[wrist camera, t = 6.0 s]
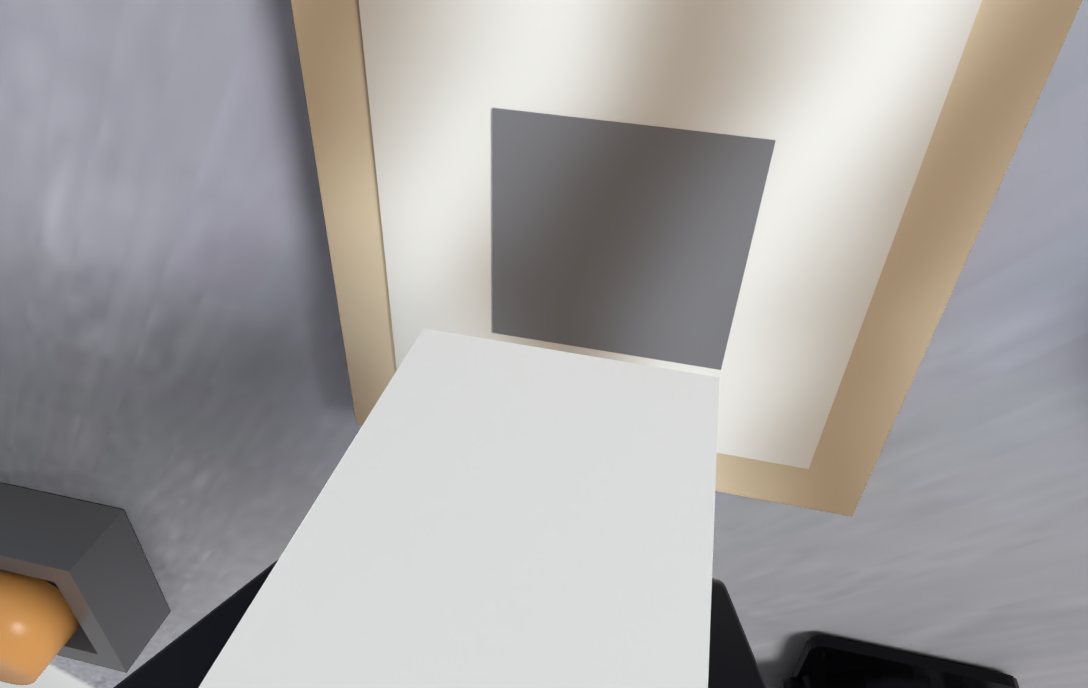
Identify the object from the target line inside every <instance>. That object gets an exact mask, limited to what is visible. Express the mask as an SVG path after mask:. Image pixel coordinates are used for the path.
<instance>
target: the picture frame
mask: <svg viewBox="0 0 1088 688" xmlns="http://www.w3.org/2000/svg"><path fill="white" fill-rule="evenodd" d="M1081 2H1082V0H291V5H292V11H293V18H294V24H295V31H296V37H297V43H298V50H299V56H300V63H301V69H302V76H303V82H304V89H305V95H306V102H307V108H308V115H309V121H310V127H311V134H312V140H313V147H314V153H315V160H316V166H317V173H318V179H319V186H320V192H321V199H322V205H323V211H324V218H325V224H326V231H327V237H328V244H329V250H330V257H331V263H332V270H333V276H334V283H335V289H336V295H337V302H338V308H339V315H340V321H341V328H342V334H343V341H344V347H345V354H346V360H347V367H348V373H349V379H350V386H351V392H352V399H353V405H354V412H355V418H356V424H361V425H363V424H364V422H365V421H366V419H367V417H368V416H369V414H370V413H371V411H372V409H373V408H374V406H375V405H376V403H377V401H378V400H379V398H380V397H381V395H382V393H383V392H384V390H385V389H386V387H387V385H388V384H389V382H390V381H391V379H392V377H393V376H394V374H395V373H396V371H397V369H398V368H399V366H400V365H401V363H402V361H403V360H404V358H405V357H406V355H407V353H408V352H409V350H410V349H411V347H412V345H413V344H414V342H415V341H416V339H417V337H418V336H419V334H420V333H421V331H422V329H423V328H425V329H431V330H437V331H443V332H449V333H455V334H461V335H467V336H473V337H479V338H485V339H491V340H497V341H503V342H509V343H515V344H521V345H527V346H533V347H539V348H545V349H551V350H557V351H563V352H569V353H575V354H581V355H587V356H593V357H599V358H605V359H611V360H617V361H623V362H629V363H635V364H641V365H647V366H653V367H659V368H665V369H671V370H677V371H683V372H689V373H695V374H701V375H707V376H713V377H719V404H718V431H717V458H716V485H715V491H718V492H724V493H729V494H734V495H740V496H745V497H750V498H756V499H761V500H766V501H772V502H777V503H782V504H788V505H793V506H798V507H804V508H809V509H814V510H820V511H825V512H830V513H836V514H841V515H846V516H852V515H853V513H854V511H855V509H856V506H857V504H858V502H859V500H860V497H861V495H862V493H863V491H864V488H865V486H866V484H867V482H868V479H869V477H870V475H871V473H872V470H873V468H874V466H875V464H876V461H877V459H878V457H879V455H880V453H881V450H882V448H883V446H884V444H885V441H886V439H887V437H888V435H889V432H890V430H891V428H892V426H893V423H894V421H895V419H896V417H897V414H898V412H899V410H900V408H901V405H902V403H903V401H904V399H905V397H906V394H907V392H908V390H909V388H910V385H911V383H912V381H913V379H914V376H915V374H916V372H917V370H918V367H919V365H920V363H921V361H922V358H923V356H924V354H925V352H926V349H927V347H928V345H929V343H930V341H931V338H932V336H933V334H934V332H935V329H936V327H937V325H938V323H939V320H940V318H941V316H942V314H943V311H944V309H945V307H946V305H947V302H948V300H949V298H950V296H951V293H952V291H953V289H954V287H955V284H956V282H957V280H958V278H959V276H960V273H961V271H962V269H963V267H964V264H965V262H966V260H967V258H968V255H969V253H970V251H971V249H972V246H973V244H974V242H975V240H976V237H977V235H978V233H979V231H980V228H981V226H982V224H983V222H984V220H985V217H986V215H987V213H988V211H989V208H990V206H991V204H992V202H993V199H994V197H995V195H996V193H997V190H998V188H999V186H1000V184H1001V181H1002V179H1003V177H1004V175H1005V172H1006V170H1007V168H1008V166H1009V163H1010V161H1011V159H1012V157H1013V155H1014V152H1015V150H1016V148H1017V146H1018V143H1019V141H1020V139H1021V137H1022V134H1023V132H1024V130H1025V128H1026V125H1027V123H1028V121H1029V119H1030V116H1031V114H1032V112H1033V110H1034V107H1035V105H1036V103H1037V101H1038V99H1039V96H1040V94H1041V92H1042V90H1043V87H1044V85H1045V83H1046V81H1047V78H1048V76H1049V74H1050V72H1051V69H1052V67H1053V65H1054V63H1055V60H1056V58H1057V56H1058V54H1059V51H1060V49H1061V47H1062V45H1063V43H1064V40H1065V38H1066V36H1067V34H1068V31H1069V29H1070V27H1071V25H1072V22H1073V20H1074V18H1075V16H1076V13H1077V11H1078V9H1079V7H1080V4H1081Z"/></svg>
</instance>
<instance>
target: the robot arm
mask: <svg viewBox="0 0 1088 688" xmlns="http://www.w3.org/2000/svg"><path fill="white" fill-rule="evenodd" d="M278 560H279V559H278ZM278 560H277V561H278ZM277 561H276V562H274V563H273V564H272V565H271V566H269V567H268V568H267V569H265V570H264V571H263V572H262V573H260V574H259V575H258V576H256V577H255V578H254V579H253V580H251V581H250V582H249V583H247V584H246V585H245V586H244V587H242V588H241V589H240V590H238V591H237V592H236V593H235V594H233V595H232V596H231V597H229V598H228V599H227V600H226V601H224V602H223V603H222V604H220V605H219V606H218V607H217V608H215V609H214V610H213V611H211V612H210V613H209V614H208V615H206V616H205V617H204V618H202V619H201V620H200V621H199V622H197V623H196V624H195V625H193V626H192V627H191V628H190V629H188V630H187V631H186V632H184V633H183V634H182V635H181V636H179V637H178V638H177V639H175V640H174V641H173V642H172V643H170V644H169V645H168V646H166V647H165V648H164V649H163V650H161V651H160V652H159V653H157V654H156V655H155V656H154V657H152V658H151V659H150V660H148V661H147V662H146V663H145V664H143V665H142V666H141V667H139V668H138V669H137V670H136V671H134V672H133V673H132V674H130V675H129V676H128V677H127V678H125V679H124V680H123V681H121V682H120V683H119V684H118V685H116V686H115V687H114V688H199V686H200V684H201V683H202V681H203V680H204V678H205V676H206V675H207V673H208V672H209V670H210V668H211V667H212V665H213V664H214V662H215V660H216V659H217V657H218V656H219V654H220V652H221V651H222V649H223V648H224V646H225V644H226V643H227V641H228V640H229V638H230V636H231V635H232V633H233V632H234V630H235V628H236V627H237V625H238V624H239V622H240V620H241V619H242V617H243V616H244V614H245V612H246V611H247V609H248V608H249V606H250V604H251V603H252V601H253V600H254V598H255V596H256V595H257V593H258V592H259V590H260V588H261V587H262V585H263V584H264V582H265V580H266V579H267V577H268V576H269V574H270V572H271V571H272V569H273V568H274V566H275V564H276V563H277ZM708 688H767V687H766V685H765V682H764V680H763V677H762V675H761V672H760V670H759V668H758V665H757V663H756V660H755V658H754V655H753V653H752V650H751V648H750V645H749V643H748V640H747V638H746V635H745V633H744V631H743V628H742V626H741V623H740V621H739V618H738V616H737V613H736V611H735V608H734V606H733V603H732V601H731V598H730V596H729V593H728V591H727V589H726V587H725V585H724V583H723V582H722V581H720V580H718V579H714V578H712V592H711V619H710V646H709V673H708ZM779 688H1019V685H1018V682H1017V680H1016V679H1015V678H1014V677H1013V676H1010V675H1007V674H1003V673H998V672H994V671H989V670H984V669H980V668H975V667H970V666H965V665H961V664H956V663H951V662H947V661H942V660H937V659H932V658H928V657H923V656H918V655H914V654H909V653H904V652H899V651H895V650H890V649H885V648H881V647H876V646H871V645H866V644H862V643H857V642H852V641H848V640H843V639H838V638H833V637H829V636H815V637H812V638H810V639H809V640H808V642H807V644H806V646H805V648H804V650H803V652H802V655H801V657H800V659H799V661H798V663H797V665H796V668H795V670H794V672H793V674H792V676H788V677H787V678H785V679H784V680H783V681H782V683H781V685H780V687H779Z"/></svg>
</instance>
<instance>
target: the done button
mask: <svg viewBox="0 0 1088 688" xmlns="http://www.w3.org/2000/svg"><path fill="white" fill-rule="evenodd" d="M79 627H80V623H79V622H78V620H77V618H76V617H75V615H74V613H73V612H72V610H71V608H70V607H69V605H68V603H67V602H66V600H65V598H64V597H63V595H62V593H61V592H60V590H59V589H57V588H56V587H55V586H53V585H52V584H50V583H49V582H47V581H45V580H43V579H39V578H35V577H30V576H26V575H22V574H18V573H13V572H9V571H5V570H1V569H0V681H3V682H6V683H10V684H16V685H28V684H31V683H33V682H35V681H36V679H37V678H38V677H39V676H40V674H41V673H42V672H43V671H44V670H45V668H46V667H47V666H48V665H49V664H50V662H51V661H52V660H53V659H54V657H55V656H56V655H57V654H58V652H59V651H60V650H61V649H62V648H63V646H64V645H65V644H66V643H67V641H68V640H69V639H70V638H71V637H72V635H73V634H74V633H75V632H76V630H77V629H78V628H79Z"/></svg>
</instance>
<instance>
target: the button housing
mask: <svg viewBox="0 0 1088 688" xmlns="http://www.w3.org/2000/svg"><path fill="white" fill-rule="evenodd" d="M0 569H1V570H5V571H9V572H13V573H18V574H22V575H26V576H30V577H35V578H39V579H43V580H45V581H47V582H49V583H50V584H52V585H53V586H55V587H56V588H57V589H59V590H60V592H61V593H62V595H63V597H64V598H65V600H66V602H67V603H68V605H69V607H70V608H71V610H72V612H73V613H74V615H75V617H76V618H77V620H78V622H79V623H80V627H79V628H78V629H77V630H76V632H75V633H74V634H73V635H72V637H71V638H70V639H69V640H68V641H67V643H66V644H65V645H64V646H63V648H62V649H61V650H60V651H59V652H58V654H57V655H59V656H63V657H67V658H71V659H75V660H79V661H83V662H86V663H90V664H94V665H98V666H102V667H106V668H110V669H114V670H118V671H122V672H126V673H127V672H128V670H129V669H130V667H131V666H132V665H133V663H134V662H135V660H136V659H137V658H138V656H139V655H140V653H141V652H142V651H143V649H144V648H145V646H146V645H147V644H148V642H149V641H150V639H151V638H152V637H153V635H154V634H155V632H156V631H157V630H158V628H159V627H160V626H161V624H162V623H163V621H164V620H165V619H166V617H167V616H168V614H169V613H170V612H171V611H170V609H169V607H168V605H167V603H166V601H165V598H164V596H163V594H162V592H161V590H160V587H159V585H158V583H157V581H156V579H155V577H154V574H153V572H152V570H151V568H150V566H149V564H148V561H147V559H146V557H145V555H144V553H143V550H142V548H141V546H140V544H139V542H138V540H137V537H136V535H135V533H134V531H133V529H132V527H131V524H130V522H129V520H128V518H127V516H126V513H125V511H124V510H123V509H118V508H113V507H109V506H104V505H99V504H95V503H90V502H86V501H81V500H76V499H72V498H67V497H63V496H58V495H53V494H49V493H44V492H40V491H35V490H30V489H26V488H21V487H17V486H12V485H7V484H3V483H0Z"/></svg>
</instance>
